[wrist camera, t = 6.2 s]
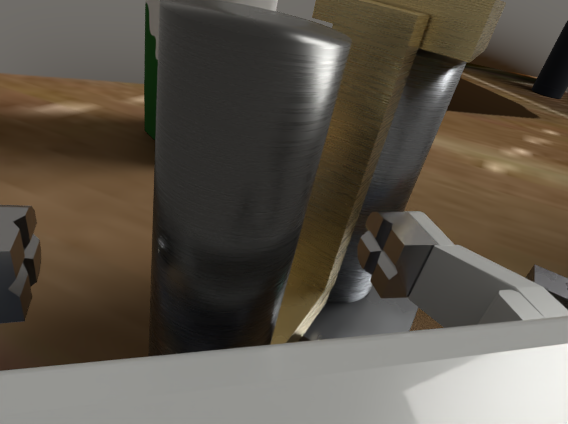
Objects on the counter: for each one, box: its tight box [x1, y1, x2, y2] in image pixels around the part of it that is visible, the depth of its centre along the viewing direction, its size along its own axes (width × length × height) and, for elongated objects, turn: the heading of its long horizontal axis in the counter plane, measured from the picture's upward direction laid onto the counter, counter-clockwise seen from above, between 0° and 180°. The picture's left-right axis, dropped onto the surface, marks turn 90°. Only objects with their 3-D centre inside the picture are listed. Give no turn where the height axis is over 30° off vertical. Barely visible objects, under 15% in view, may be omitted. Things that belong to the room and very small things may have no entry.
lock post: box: [299, 48, 568, 342], centre depth 15 cm, size 18×18×13 cm
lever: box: [149, 0, 506, 356], centre depth 14 cm, size 16×6×13 cm, turn 151°
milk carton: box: [144, 0, 278, 140], centre depth 30 cm, size 9×9×20 cm
